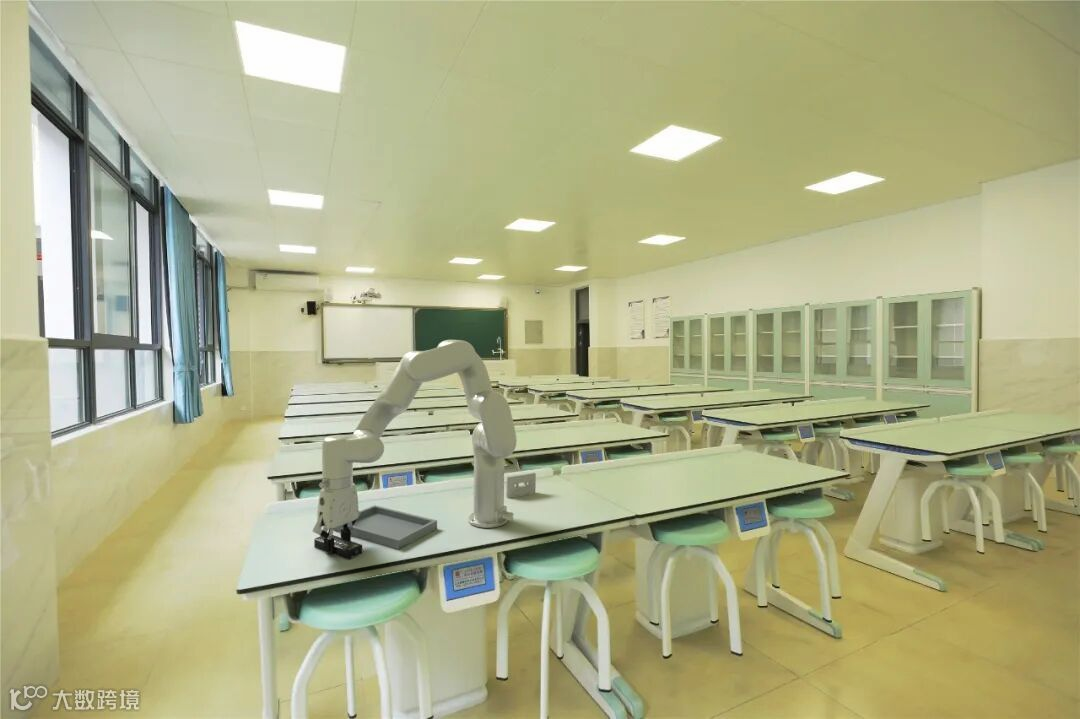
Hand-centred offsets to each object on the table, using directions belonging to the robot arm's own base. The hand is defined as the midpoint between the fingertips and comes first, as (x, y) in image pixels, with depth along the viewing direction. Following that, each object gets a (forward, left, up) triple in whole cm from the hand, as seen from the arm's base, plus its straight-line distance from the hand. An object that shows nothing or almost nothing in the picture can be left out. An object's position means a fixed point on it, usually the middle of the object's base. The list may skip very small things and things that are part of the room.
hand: (337, 547), depth 126 cm
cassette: (-21, -63, -1) cm, 67 cm away
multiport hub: (0, 0, -1) cm, 1 cm away
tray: (-1, -16, -1) cm, 16 cm away
